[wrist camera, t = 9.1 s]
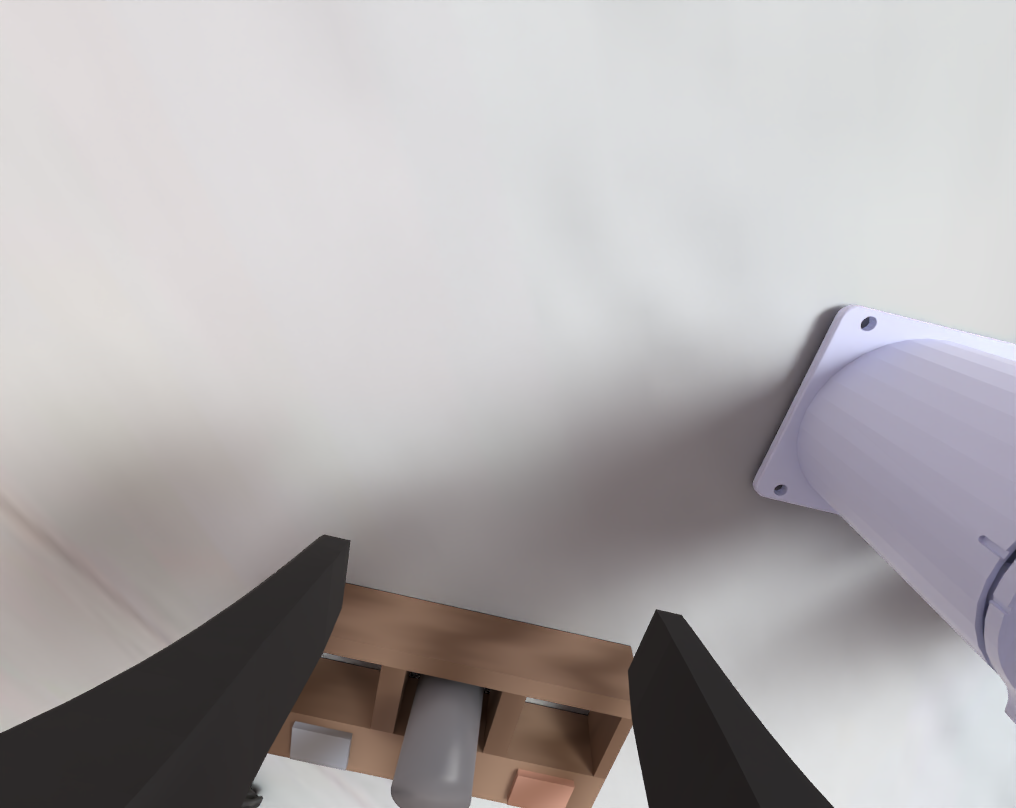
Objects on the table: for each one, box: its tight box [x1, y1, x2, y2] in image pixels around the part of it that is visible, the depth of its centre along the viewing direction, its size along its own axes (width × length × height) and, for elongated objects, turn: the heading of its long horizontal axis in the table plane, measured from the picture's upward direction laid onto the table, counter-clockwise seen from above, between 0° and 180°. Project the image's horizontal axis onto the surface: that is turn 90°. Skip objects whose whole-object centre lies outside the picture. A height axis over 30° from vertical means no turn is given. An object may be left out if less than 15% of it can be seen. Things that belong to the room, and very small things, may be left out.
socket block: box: [268, 583, 633, 808], centre depth 24 cm, size 17×9×3 cm, turn 77°
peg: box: [391, 674, 484, 808], centre depth 22 cm, size 3×3×6 cm
